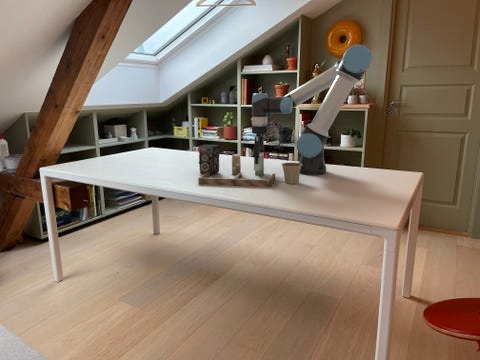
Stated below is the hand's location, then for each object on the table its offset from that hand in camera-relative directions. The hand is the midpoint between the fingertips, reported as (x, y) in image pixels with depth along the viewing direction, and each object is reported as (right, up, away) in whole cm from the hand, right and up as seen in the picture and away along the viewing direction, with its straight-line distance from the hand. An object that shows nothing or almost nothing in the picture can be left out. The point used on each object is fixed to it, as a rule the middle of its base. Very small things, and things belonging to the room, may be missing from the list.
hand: (258, 167), depth 181 cm
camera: (-25, -4, +4) cm, 26 cm away
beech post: (-11, -3, +3) cm, 12 cm away
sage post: (0, -4, +1) cm, 4 cm away
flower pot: (+15, -8, -15) cm, 22 cm away
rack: (-11, -7, -13) cm, 18 cm away
